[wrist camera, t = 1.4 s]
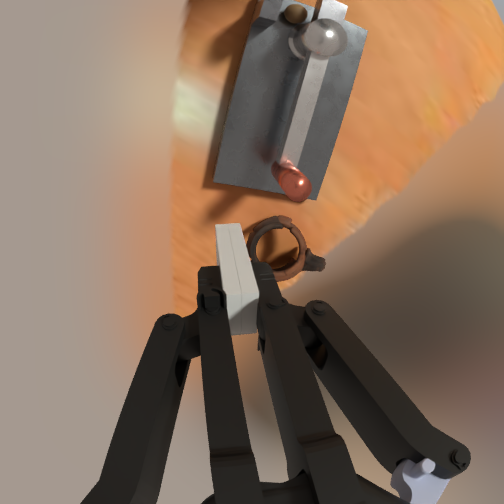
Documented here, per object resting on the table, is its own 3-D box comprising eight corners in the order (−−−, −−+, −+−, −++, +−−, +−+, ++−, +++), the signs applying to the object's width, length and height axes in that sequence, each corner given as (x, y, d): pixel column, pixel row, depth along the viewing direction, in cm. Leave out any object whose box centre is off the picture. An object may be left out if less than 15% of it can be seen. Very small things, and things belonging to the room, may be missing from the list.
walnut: (284, 3, 24) (290, -2, 21) (305, 10, 24) (313, 6, 22) (279, 21, 25) (285, 17, 23) (300, 27, 26) (307, 24, 23)
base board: (258, -5, 24) (271, -22, 18) (360, 32, 28) (389, 27, 22) (211, 176, 37) (214, 197, 31) (311, 194, 40) (330, 216, 34)
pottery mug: (240, 270, 46) (238, 279, 38) (251, 211, 46) (251, 207, 37) (314, 284, 46) (326, 295, 38) (325, 226, 46) (340, 225, 37)
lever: (303, 2, 23) (335, -18, 16) (337, 15, 24) (376, 2, 17) (256, 169, 34) (273, 197, 27) (290, 176, 35) (315, 205, 28)
